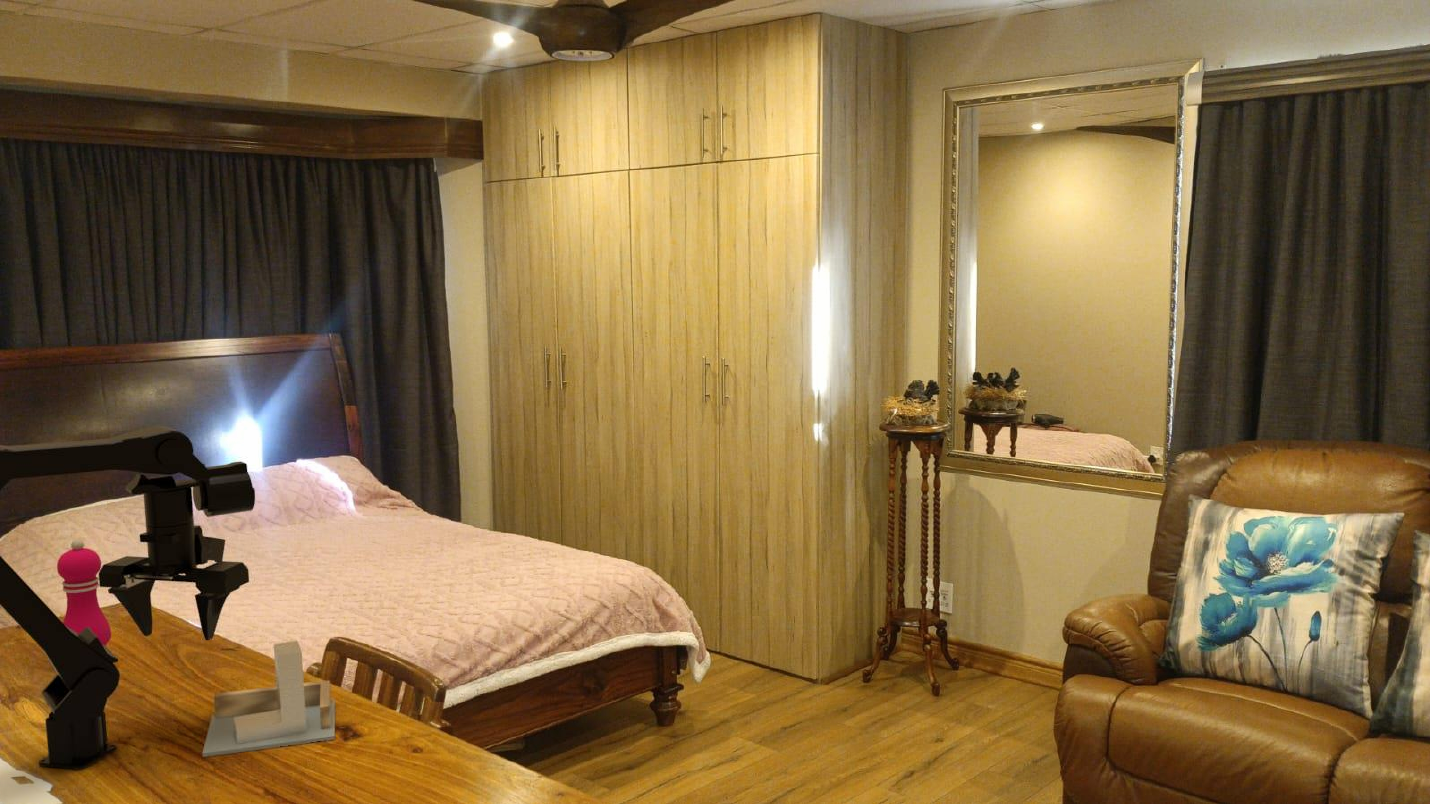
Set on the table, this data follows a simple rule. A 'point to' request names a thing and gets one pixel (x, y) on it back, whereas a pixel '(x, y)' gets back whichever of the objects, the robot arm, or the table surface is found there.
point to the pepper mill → (83, 591)
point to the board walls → (272, 701)
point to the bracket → (279, 701)
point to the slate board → (225, 742)
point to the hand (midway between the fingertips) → (178, 637)
